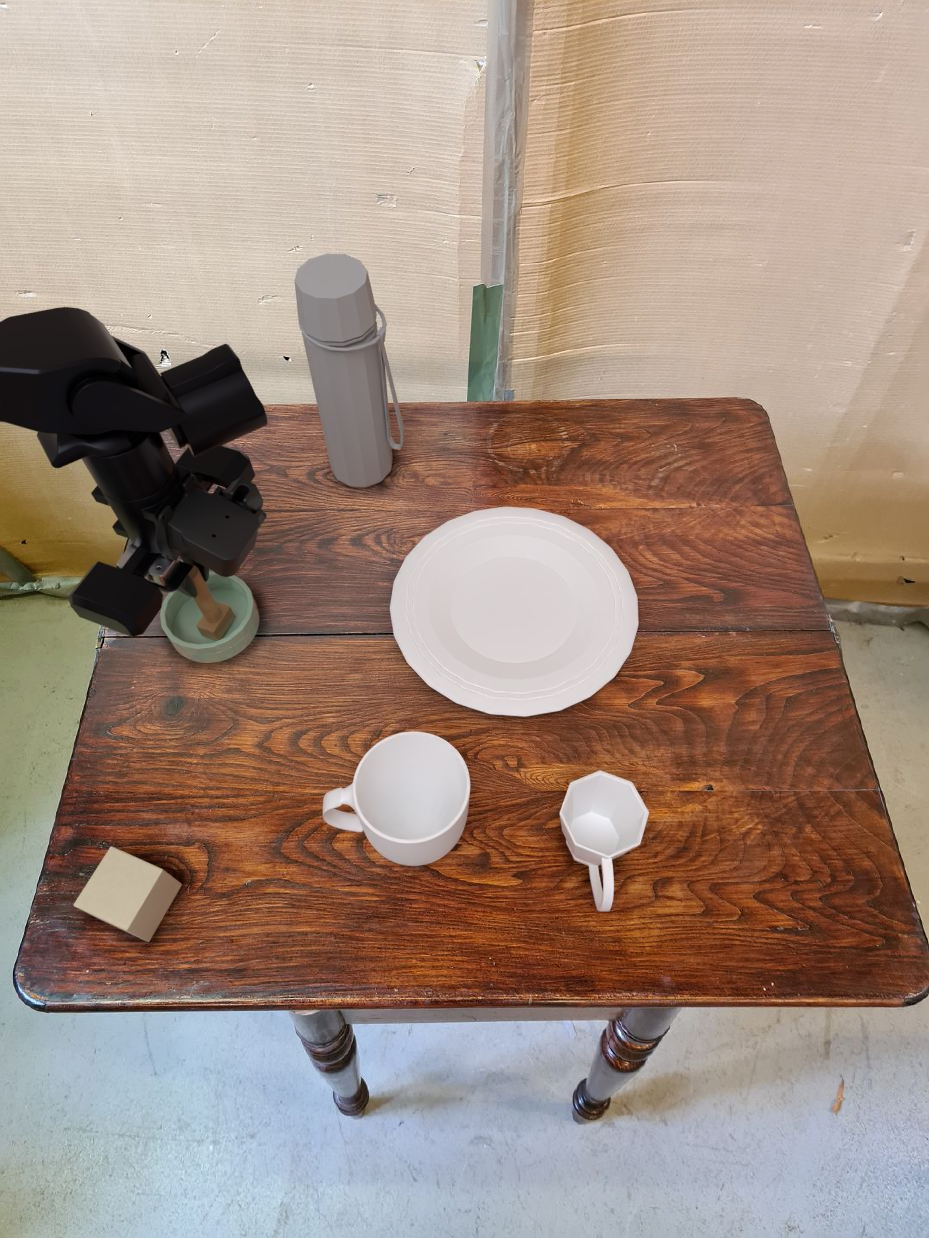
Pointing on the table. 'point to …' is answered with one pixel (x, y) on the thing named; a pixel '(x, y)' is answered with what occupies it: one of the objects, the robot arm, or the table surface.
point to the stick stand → (128, 893)
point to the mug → (406, 798)
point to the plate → (514, 611)
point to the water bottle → (347, 367)
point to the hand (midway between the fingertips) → (197, 587)
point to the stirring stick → (210, 609)
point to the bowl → (185, 615)
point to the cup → (602, 826)
